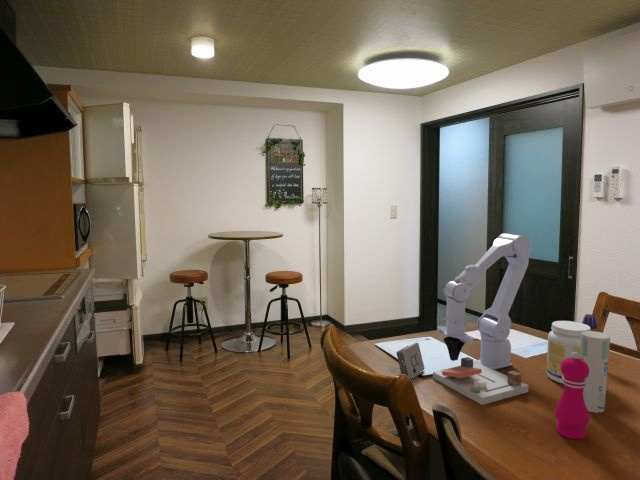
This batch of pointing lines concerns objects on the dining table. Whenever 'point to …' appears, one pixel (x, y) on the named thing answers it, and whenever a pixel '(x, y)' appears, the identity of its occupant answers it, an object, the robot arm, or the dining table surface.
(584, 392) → the spray can
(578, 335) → the supplement tub
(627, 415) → the dining table surface
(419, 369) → the electrical switch
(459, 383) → the console
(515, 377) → the walnut slider
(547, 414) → the dining table surface
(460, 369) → the red rocker
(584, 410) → the pepper mill
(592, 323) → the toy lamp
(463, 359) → the black slider
